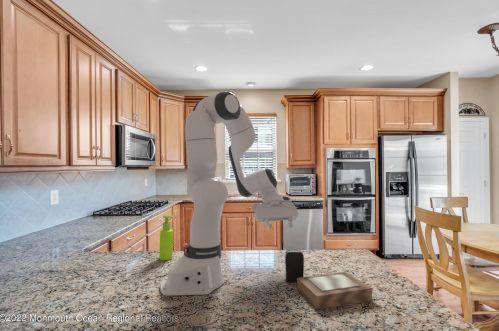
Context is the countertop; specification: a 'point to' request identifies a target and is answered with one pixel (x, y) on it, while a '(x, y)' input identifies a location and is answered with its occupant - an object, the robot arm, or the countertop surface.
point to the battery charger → (294, 265)
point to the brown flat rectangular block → (333, 290)
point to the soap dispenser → (166, 240)
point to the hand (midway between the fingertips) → (280, 227)
